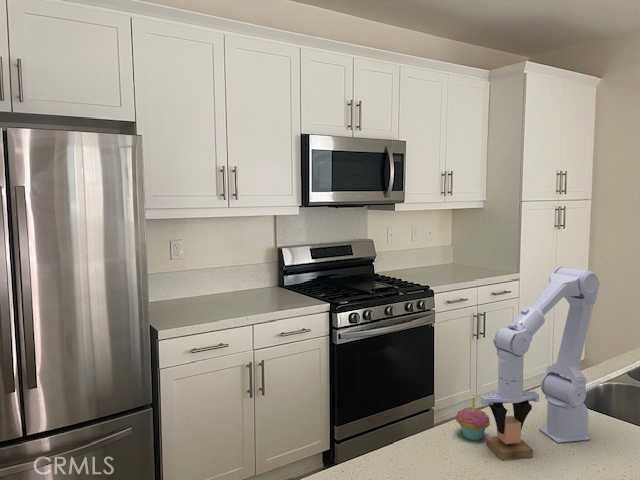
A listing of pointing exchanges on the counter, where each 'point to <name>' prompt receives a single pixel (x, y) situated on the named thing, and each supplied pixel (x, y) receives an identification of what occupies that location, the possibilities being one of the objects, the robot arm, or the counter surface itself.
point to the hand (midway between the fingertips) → (509, 431)
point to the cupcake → (473, 421)
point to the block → (511, 431)
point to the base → (509, 449)
